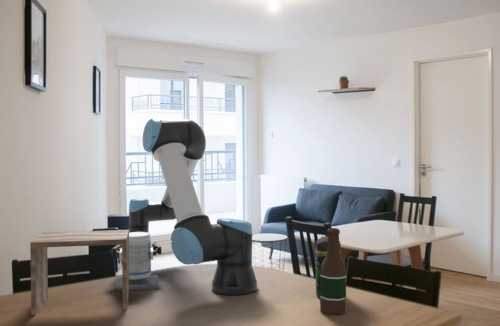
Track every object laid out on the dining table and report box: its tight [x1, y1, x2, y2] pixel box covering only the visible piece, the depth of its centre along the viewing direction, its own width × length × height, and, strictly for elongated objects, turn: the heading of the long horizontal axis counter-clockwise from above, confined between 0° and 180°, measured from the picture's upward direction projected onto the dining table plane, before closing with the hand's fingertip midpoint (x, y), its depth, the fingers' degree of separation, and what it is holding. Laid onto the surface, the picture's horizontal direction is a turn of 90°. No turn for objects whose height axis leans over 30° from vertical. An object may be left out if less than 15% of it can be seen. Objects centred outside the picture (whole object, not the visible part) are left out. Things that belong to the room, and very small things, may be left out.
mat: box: [113, 274, 159, 292], centre depth 168 cm, size 14×14×1 cm
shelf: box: [29, 229, 130, 316], centre depth 147 cm, size 16×26×20 cm, turn 101°
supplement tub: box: [129, 232, 152, 280], centre depth 167 cm, size 10×10×15 cm
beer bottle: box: [319, 227, 347, 317], centre depth 140 cm, size 8×8×24 cm
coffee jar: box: [315, 236, 342, 298], centre depth 155 cm, size 10×8×19 cm
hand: (136, 256), depth 163 cm, fingers closed on supplement tub, 9 cm apart
